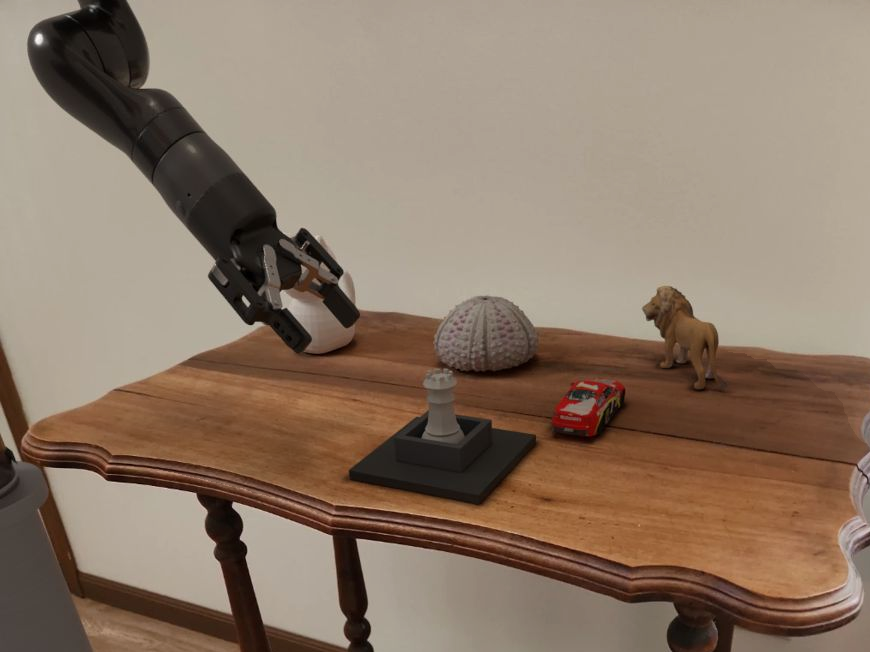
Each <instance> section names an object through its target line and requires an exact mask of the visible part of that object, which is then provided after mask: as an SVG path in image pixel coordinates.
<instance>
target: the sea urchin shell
mask: <svg viewBox="0 0 870 652" xmlns="http://www.w3.org/2000/svg"><path fill="white" fill-rule="evenodd" d="M538 334H539V331H537V329H536V327H535V326H534V324H533V323H532V322H531V320H530V319H529V318H528V316H527V315H526V314H525V312H524V310H522V309H520V307H519V305H516V304H515V303H514V302H513V301H511V300H509V299H507V298H504V297H502V296H491V295H477V296H473V297H471V298H468V299H466V300H465V301H462V302H461V303H459V304H455V307H454V308H453V309H452V310H449V311H448V314H447V315H446V316H443V320H442V322H441V323H439V326H438V329H437V330H436V334H434V336H433V338H434V341H433V342H432V344H433V345H434V348H433V350H434V351H435V352H436V356H437V357H438V358H439V359H440V362H442V363H443V364H445V365H447V366H448V368H455V370H460V372H463V371H465V372H469V371H475V372H483V373H484V372H486V371H492V372H496V371H501V370H503V369H504V370H507V369H511V368H513V367H519V366H520V365H522V364H525V363H527V362H528V361H529V360H531V359H532V358H533V357H534V354H536V353H537V349H538V347H539V340H540V339H539V337H538Z"/></svg>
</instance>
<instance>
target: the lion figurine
mask: <svg viewBox="0 0 870 652" xmlns="http://www.w3.org/2000/svg"><path fill="white" fill-rule="evenodd" d="M641 310H642V312H643V314H644V315H645V320H646V322H651V321H653V324H654V327H655V328H657V329H658V330H659V334H660V337H661V338H662V339H664V353H665V360H663V361H661V362H660V364H659V367H660V368H662V369H670V368H671V367H673V364H674V347H675V345H676V344H678V345H679V346H680V350H679V355H678V357H676V363H678V364H685V363H687V361H688V353H689V352H690V353H689V354H690V360H691V364H692V367H693V368H694V371H695V373H696V375H697V379H698V380H697V381H696V382H695V383H694V384H693V389H695V390H704V388H705V387H706V379H709V380H712V379H714V381H715V383H716V384H717V386H718V387H719V388H722V389H727V388H728V383H726V382H725V381H724V380H723V379H722V378H721V377H720V376H719V375H718V373H717V369H716V368H717V367H716V356H717V351H718V348H719V343H720V342H719V341H720V340H719V334H718V331H717V328H716V326H715V324H714V323H712V322H708V321H703V320H700V319H699V318H697V317H696V316H695V315H694V309H693V306H692V305H691V303H690V301H689V300H688V299H687V298H686V295H684V294H683V293H682V292H681V291H680V290H678V289H677V288H676V287H675V288H674V287H673V286H672V285H671V286H670V285H662V286H659V287H657V288H656V294H655V295H654V296H653V297H651V299H650V301H649V302H647V303H646V304H645V305H643V306H642V307H641ZM704 351H705V352H706V357H707V362H708V367H707V371H705V367H704V366H703V355H704Z"/></svg>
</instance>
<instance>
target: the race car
mask: <svg viewBox="0 0 870 652" xmlns="http://www.w3.org/2000/svg"><path fill="white" fill-rule="evenodd" d="M569 385H570V386H571V387H570V388H569V389H568V391H567V392H566V393H565V394H564V395H563V397H562V398H561V400H560V401H559V402H558V404H557V405H556V407H555V408H554V410H553V414H552V416H551V431H552V432H554V433H556V434H564V435H570V436H579V437H582V438H583V437H593V436H596V435H601V434H602V433H603V430H604V427H605V426H606V425H607V424H608V423H609V421H610V420H611V419H612V417H613V416H614V415H615V413H616V412H617V411H618V409H619V408H622V407H623V405H624V403H625V398H626V387H625V385H624V384H623V383H621V382H620V381H617V380H615V379H610V378H606V377H605V378H603V377H601V378H600V377H599V378H598V377H597V378H596V377H595V378H588V379H584V380H578V381H576V382H570V384H569Z"/></svg>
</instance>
